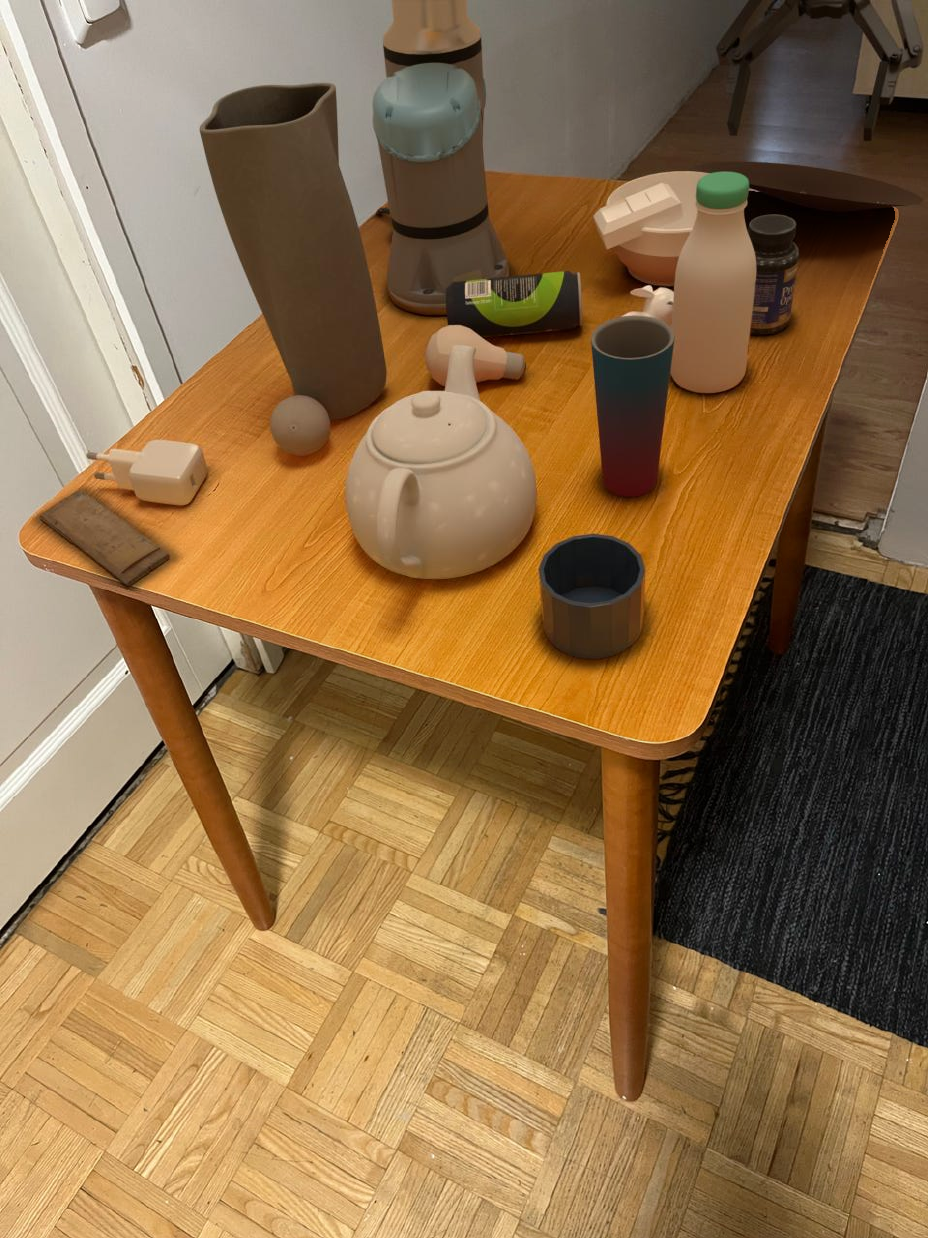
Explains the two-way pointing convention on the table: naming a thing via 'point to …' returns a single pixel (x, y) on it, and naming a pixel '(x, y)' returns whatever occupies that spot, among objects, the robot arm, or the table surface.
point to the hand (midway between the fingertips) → (798, 132)
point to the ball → (300, 425)
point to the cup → (631, 399)
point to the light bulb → (486, 360)
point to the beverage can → (516, 304)
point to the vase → (299, 238)
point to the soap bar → (637, 214)
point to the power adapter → (157, 471)
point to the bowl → (659, 229)
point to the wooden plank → (104, 537)
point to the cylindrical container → (592, 595)
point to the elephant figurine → (655, 303)
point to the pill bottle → (773, 271)
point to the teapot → (441, 482)
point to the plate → (816, 186)
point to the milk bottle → (714, 289)
